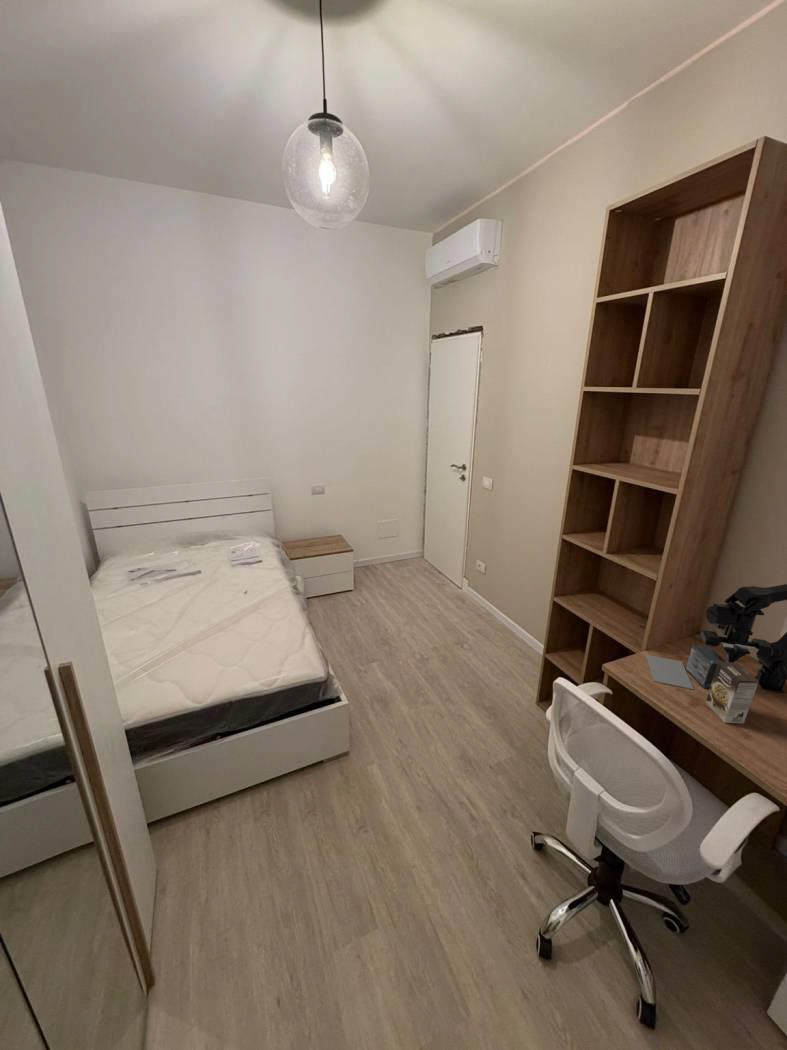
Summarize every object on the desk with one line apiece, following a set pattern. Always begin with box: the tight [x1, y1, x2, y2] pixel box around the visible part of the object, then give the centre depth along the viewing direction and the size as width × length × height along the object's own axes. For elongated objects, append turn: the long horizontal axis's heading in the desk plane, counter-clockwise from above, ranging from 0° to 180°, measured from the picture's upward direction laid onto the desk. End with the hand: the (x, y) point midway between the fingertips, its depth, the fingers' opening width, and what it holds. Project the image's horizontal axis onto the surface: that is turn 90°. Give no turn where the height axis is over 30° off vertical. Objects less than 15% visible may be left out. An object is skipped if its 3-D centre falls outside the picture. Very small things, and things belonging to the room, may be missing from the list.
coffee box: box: [705, 661, 759, 724], centre depth 132 cm, size 9×6×16 cm
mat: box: [645, 654, 695, 691], centre depth 153 cm, size 12×16×1 cm
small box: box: [684, 645, 727, 689], centre depth 148 cm, size 11×6×10 cm, turn 178°
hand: (729, 663), depth 145 cm, fingers closed
